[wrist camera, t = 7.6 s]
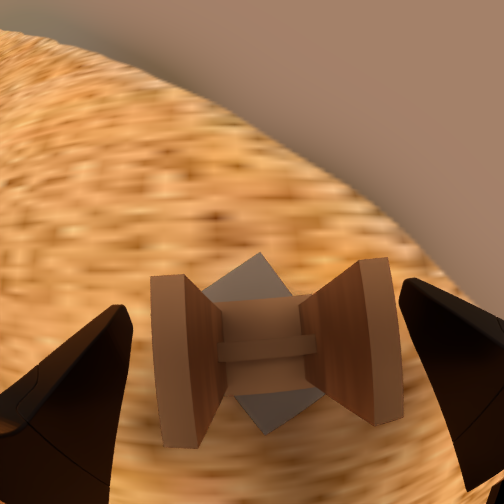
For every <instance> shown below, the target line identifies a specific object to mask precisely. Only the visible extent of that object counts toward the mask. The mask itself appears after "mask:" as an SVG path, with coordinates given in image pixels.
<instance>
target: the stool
mask: <svg viewBox="0 0 504 504" xmlns="http://www.w3.org/2000/svg"><path fill="white" fill-rule="evenodd" d="M150 286H151V327H152V346H153V361H154V373H155V384H156V394H157V403H158V411H159V419H160V426H161V433H162V439H163V445H164V447H171V448H192V449H198V448H199V446H200V444H201V442H202V440H203V438H204V436H205V434H206V432H207V430H208V428H209V426H210V424H211V421H212V419H213V417H214V415H215V413H216V411H217V409H218V407H219V405H220V403H221V400H222V398H223V396H237V395H252V394H264V393H274V392H283V391H291V390H299V389H306V388H313V387H316V388H318V389H319V390H321V391H322V392H324V393H325V394H326V395H328V396H329V397H331V398H332V399H334V400H335V401H337V402H338V403H340V404H341V405H343V406H344V407H346V408H347V409H349V410H350V411H352V412H353V413H355V414H356V415H358V416H359V417H361V418H362V419H364V420H365V421H367V422H369V423H370V424H372V425H373V426H377V425H381V424H384V423H387V422H391V421H394V420H397V419H400V418H403V374H402V358H401V346H400V335H399V326H398V318H397V310H396V303H395V296H394V289H393V283H392V277H391V272H390V266H389V261H388V257H385V258H375V259H364V260H358V261H357V262H356V263H354V264H353V265H352V266H351V267H349V268H348V269H347V270H345V271H344V272H343V273H341V274H340V275H339V276H337V277H336V278H335V279H333V280H332V281H331V282H329V283H328V284H327V285H325V286H324V287H323V288H321V289H320V290H319V291H317V292H316V293H314V294H313V295H312V294H309V295H299V296H289V297H278V298H267V299H255V300H242V301H229V302H214V303H213V302H212V301H211V300H209V299H208V298H207V297H206V296H205V295H204V294H203V293H202V292H201V291H200V290H199V289H198V288H197V287H196V286H195V285H194V284H193V283H192V282H191V281H190V280H189V279H188V278H187V277H186V276H185V275H184V274H180V275H164V276H150Z"/></svg>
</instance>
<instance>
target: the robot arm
mask: <svg viewBox="0 0 504 504" xmlns="http://www.w3.org/2000/svg"><path fill="white" fill-rule="evenodd" d="M399 307H400V309H401V312H402V315H403V317H404V320H405V323H406V325H407V328H408V331H409V334H410V337H411V339H412V342H413V344H414V346H415V349H416V351H417V353H418V355H419V357H420V360H421V362H422V364H423V366H424V369H425V371H426V373H427V376H428V378H429V380H430V383H431V385H432V387H433V390H434V392H435V395H436V397H437V400H438V403H439V405H440V408H441V410H442V413H443V416H444V419H445V421H446V424H447V427H448V430H449V433H450V436H451V439H452V442H453V445H454V449H455V452H456V455H457V458H458V462H459V465H460V469H461V472H462V476H463V480H464V484H465V488H466V491H467V492H469V491H471V490H473V489H474V488H476V487H478V486H479V485H481V484H483V483H484V482H486V481H487V480H489V479H490V478H492V477H493V476H495V475H496V474H498V473H499V472H501V471H502V470H504V320H502V319H500V318H498V317H496V316H494V315H492V314H490V313H488V312H486V311H484V310H482V309H480V308H478V307H476V306H474V305H472V304H470V303H468V302H466V301H464V300H462V299H460V298H458V297H456V296H454V295H452V294H450V293H448V292H446V291H443V290H441V289H439V288H437V287H435V286H433V285H431V284H429V283H426V282H424V281H422V280H420V279H418V278H408V279H405V280H404V282H403V285H402V289H401V292H400V296H399ZM132 336H133V325H132V322H131V319H130V317H129V314H128V312H127V309H126V307H125V306H124V305H122V304H121V305H111V306H110V307H109V308H107V309H106V310H105V311H104V312H102V313H101V314H100V315H98V316H97V317H96V318H95V319H93V320H92V321H91V322H89V323H88V324H87V325H86V326H84V327H83V328H82V329H81V330H79V331H78V332H77V333H75V334H74V335H73V336H72V337H70V338H69V339H68V340H67V341H66V342H64V343H63V344H62V345H61V346H59V347H58V348H57V349H56V350H54V351H53V352H52V353H51V354H50V355H48V356H47V357H46V358H45V359H44V360H42V361H41V362H40V363H39V365H36V366H35V367H34V368H33V369H32V370H30V371H29V372H28V373H27V374H26V375H24V376H23V377H22V378H21V379H19V380H18V381H17V382H16V383H14V384H13V385H12V386H10V387H9V388H8V389H6V390H5V391H4V392H2V393H1V394H0V504H109V492H110V487H109V486H110V480H111V471H112V462H113V455H114V448H115V441H116V434H117V428H118V422H119V416H120V411H121V405H122V400H123V395H124V390H125V385H126V380H127V375H128V369H129V361H130V352H131V344H132ZM486 504H504V478H503V479H501V480H500V481H499V482H497V483H496V484H495V485H493V486H492V488H491V491H490V494H489V497H488V499H487V502H486Z"/></svg>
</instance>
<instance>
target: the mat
mask: <svg viewBox="0 0 504 504" xmlns="http://www.w3.org/2000/svg"><path fill="white" fill-rule="evenodd" d="M201 292H202V293H203V294H204V295H205V296H206V297H207V298H208V299H209V300H211V301H212V302H213V303H214V302H229V301H242V300H255V299H267V298H278V297H289V296H292V294H291V293H290V292H289V290H288V289H287V288H286V286H285V285H284V283H283V282H282V281H281V279H280V278H279V277H278V275H277V274H276V273H275V271H274V270H273V269H272V267H271V266H270V265H269V263H268V262H267V261H266V259H265V258H264V256H263V255H262V254H261V252H259V253H258V254H256V255H255V256H253V257H252V258H250V259H249V260H247V261H246V262H244V263H243V264H242V265H240V266H239V267H237V268H236V269H234V270H233V271H231V272H230V273H228V274H227V275H225V276H224V277H222V278H221V279H219V280H218V281H216V282H215V283H213V284H212V285H210V286H209V287H207V288H206V289H204V290H203V291H201ZM324 395H325V393H324V392H322V391H321V390H319V389H318V388H316V387H313V388H306V389H299V390H291V391H283V392H274V393H264V394H252V395H237V396H234V397H235V398H236V400H237V401H238V402H239V404H240V405H241V406H242V407H243V409H244V410H245V411H246V413H247V414H248V415H249V416H250V418H251V419H252V420H253V421H254V423H255V424H256V425H257V426H258V428H259V429H260V430H261V431H262V432H263V434H264V435H267V434H268V433H270V432H272V431H273V430H275V429H276V428H278V427H279V426H281V425H282V424H284V423H285V422H287V421H288V420H290V419H291V418H293V417H294V416H296V415H297V414H299V413H300V412H302V411H303V410H304V409H306V408H307V407H309V406H310V405H311V404H313V403H314V402H316V401H317V400H318V399H320V398H321V397H322V396H324Z"/></svg>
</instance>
